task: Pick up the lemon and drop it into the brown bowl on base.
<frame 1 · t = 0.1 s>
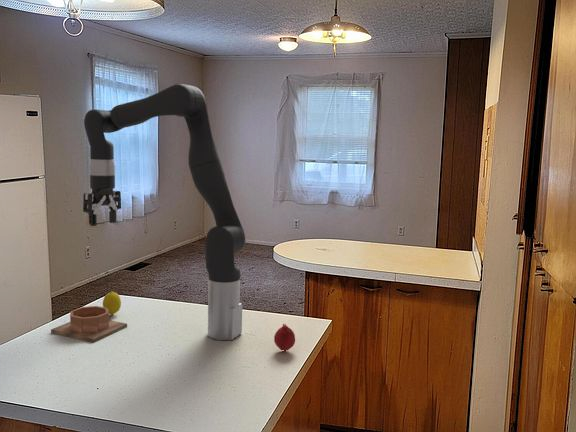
hand: (103, 224, 169), 29 cm above the counter, tool pointing down, fingers open, 8 cm apart
lemon: (112, 315, 169), on the counter
onion: (284, 352, 145), on the counter
brown bowl on base: (89, 329, 156), on the counter
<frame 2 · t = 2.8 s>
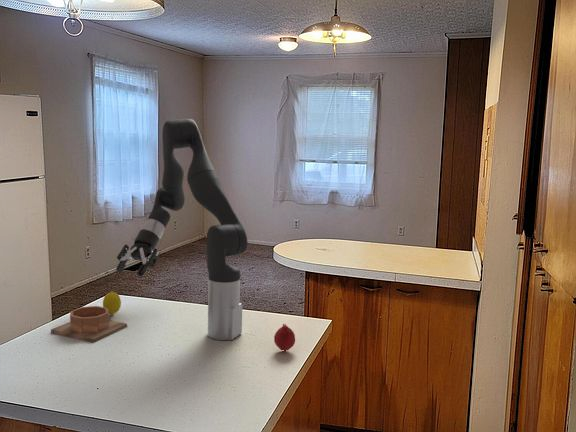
hand: (128, 273, 175), 12 cm above the counter, tool tilted 45°, fingers open, 8 cm apart
nothing on the counter moved.
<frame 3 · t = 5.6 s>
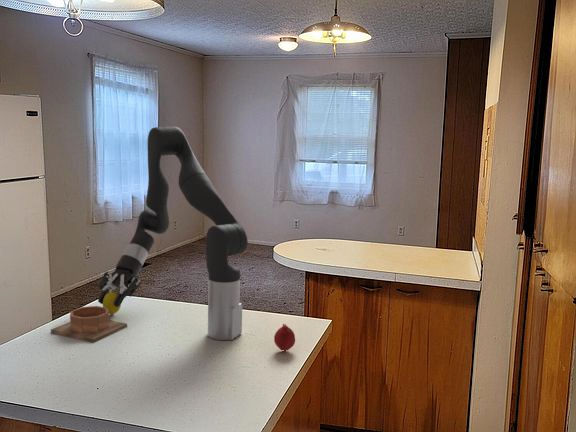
hand: (108, 304, 167), 4 cm above the counter, tool tilted 45°, fingers closed on lemon, 5 cm apart
lemon: (112, 315, 169), on the counter, touching gripper
everything else where it was.
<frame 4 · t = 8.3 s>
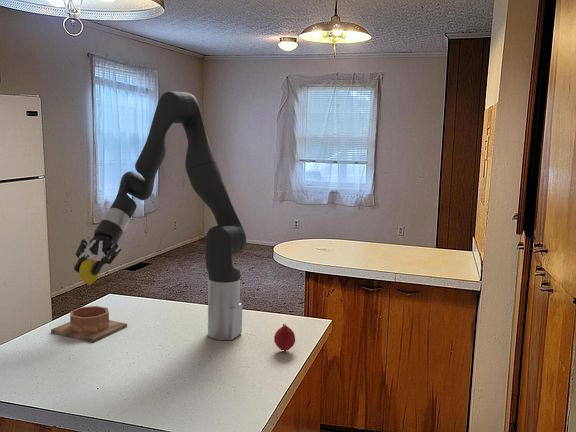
hand: (84, 272, 152), 18 cm above the counter, tool tilted 45°, fingers closed on lemon, 5 cm apart
lemon: (89, 285, 155), point 13 cm above the counter, touching gripper
everything else where it was.
when the fingers open (8 cm above the counter, at t = 11.0 s): lemon drops 2 cm, resting on brown bowl on base.
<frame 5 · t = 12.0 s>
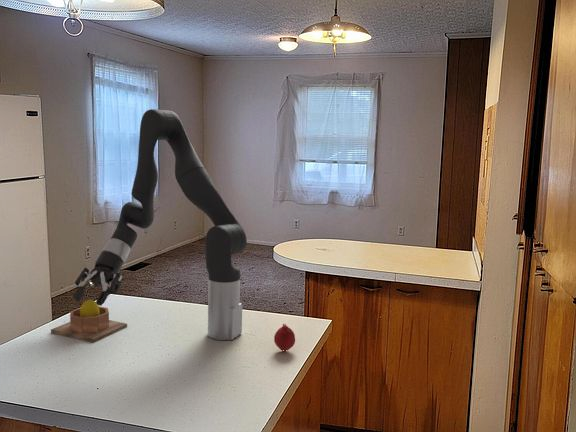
hand: (86, 302, 154), 9 cm above the counter, tool tilted 45°, fingers open, 8 cm apart
lemon: (89, 325, 156), point 1 cm above the counter, touching brown bowl on base
everything else where it was.
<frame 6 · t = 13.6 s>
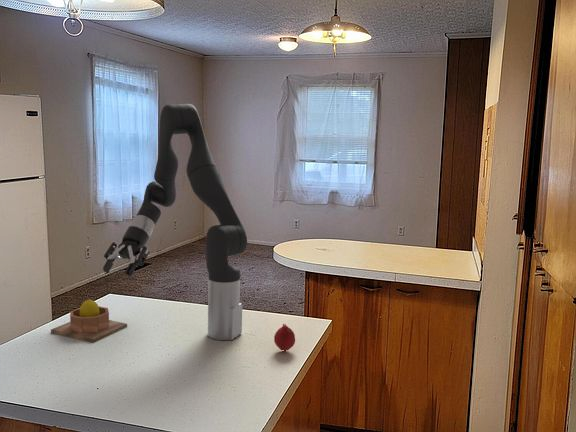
hand: (116, 273, 165), 15 cm above the counter, tool tilted 45°, fingers open, 8 cm apart
nothing on the counter moved.
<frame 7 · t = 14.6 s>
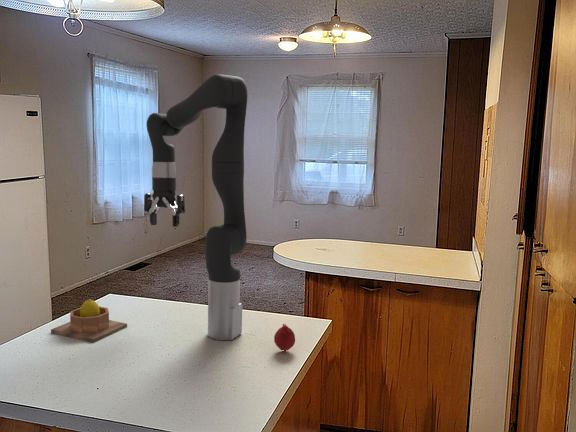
hand: (164, 225, 171), 29 cm above the counter, tool pointing down, fingers open, 8 cm apart
nothing on the counter moved.
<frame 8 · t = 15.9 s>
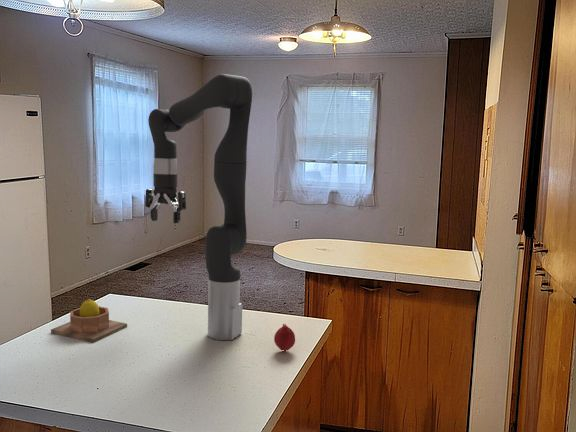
hand: (165, 221, 171), 30 cm above the counter, tool pointing down, fingers open, 8 cm apart
nothing on the counter moved.
at the end: lemon inside the target area (0.2 cm from its centre), point 1.1 cm above the counter; the gripper is holding nothing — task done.
